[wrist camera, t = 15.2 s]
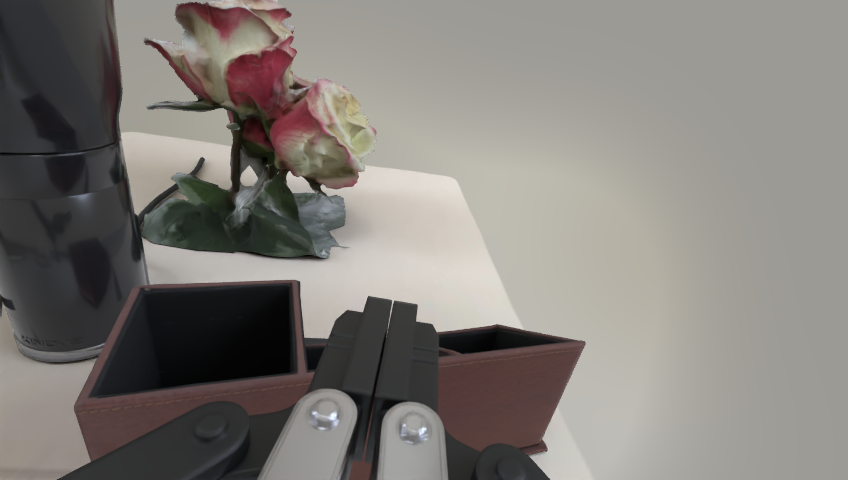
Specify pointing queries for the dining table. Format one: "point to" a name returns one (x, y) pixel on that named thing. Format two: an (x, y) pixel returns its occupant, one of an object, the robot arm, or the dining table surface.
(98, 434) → the desk organizer
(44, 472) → the dining table surface
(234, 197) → the rose bouquet
